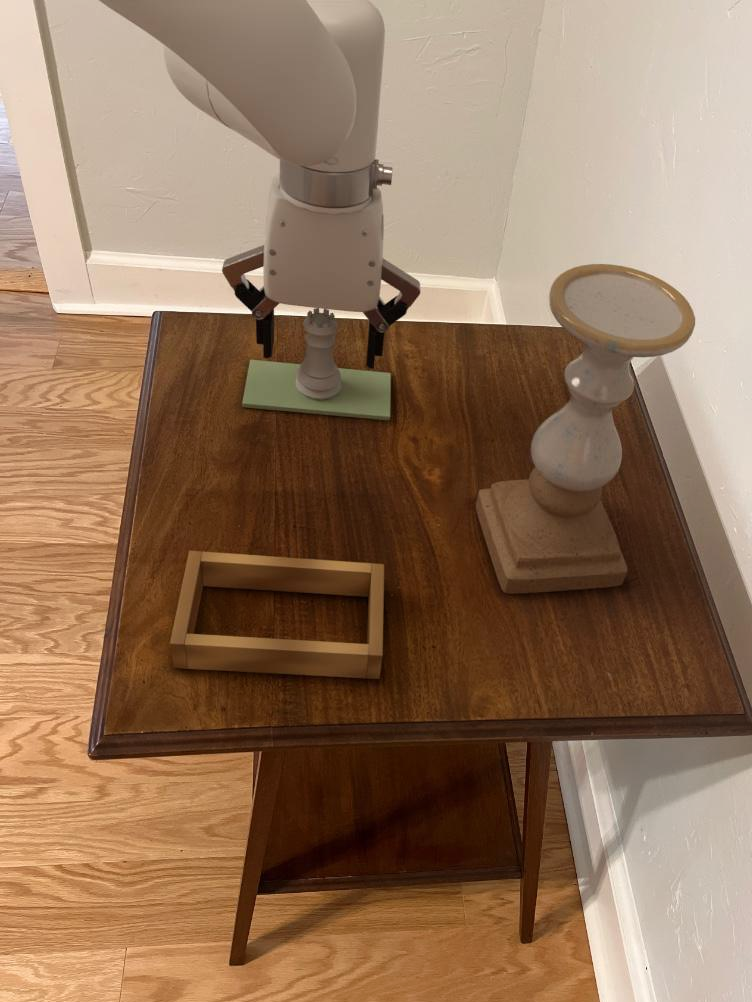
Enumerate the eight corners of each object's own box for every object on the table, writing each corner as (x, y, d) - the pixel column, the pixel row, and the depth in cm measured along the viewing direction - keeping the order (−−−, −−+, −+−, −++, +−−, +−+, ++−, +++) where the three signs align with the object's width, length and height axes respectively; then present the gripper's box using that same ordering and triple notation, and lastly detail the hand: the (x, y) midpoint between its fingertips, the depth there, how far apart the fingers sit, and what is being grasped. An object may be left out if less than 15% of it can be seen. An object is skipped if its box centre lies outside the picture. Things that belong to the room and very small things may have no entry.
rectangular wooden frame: (173, 668, 66) (169, 643, 64) (191, 576, 72) (189, 550, 70) (379, 679, 68) (382, 655, 66) (381, 588, 74) (384, 563, 72)
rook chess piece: (292, 374, 89) (292, 302, 83) (337, 373, 91) (341, 301, 85) (298, 403, 87) (299, 330, 81) (344, 401, 88) (349, 329, 82)
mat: (242, 407, 86) (242, 403, 86) (250, 363, 90) (250, 359, 90) (389, 420, 88) (390, 416, 87) (390, 376, 92) (391, 372, 92)
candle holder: (624, 586, 78) (727, 349, 60) (502, 595, 75) (571, 350, 57) (586, 497, 85) (668, 260, 67) (473, 502, 82) (526, 257, 64)
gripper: (432, 166, 76) (410, 341, 89) (222, 139, 74) (231, 322, 87) (434, 210, 72) (411, 388, 85) (210, 182, 69) (221, 369, 82)
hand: (319, 354), depth 86 cm, fingers open, 9 cm apart
